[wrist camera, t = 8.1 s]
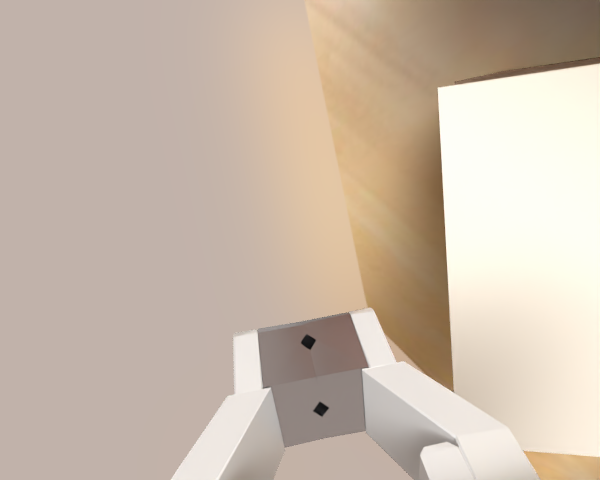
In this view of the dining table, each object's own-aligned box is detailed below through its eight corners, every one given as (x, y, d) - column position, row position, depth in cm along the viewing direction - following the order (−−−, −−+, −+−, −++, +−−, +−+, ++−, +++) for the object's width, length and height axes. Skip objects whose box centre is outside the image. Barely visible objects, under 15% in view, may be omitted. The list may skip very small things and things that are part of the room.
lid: (715, 452, 26) (726, 466, 25) (456, 434, 30) (456, 445, 29) (785, 36, 19) (803, 34, 18) (437, 87, 23) (437, 88, 22)
